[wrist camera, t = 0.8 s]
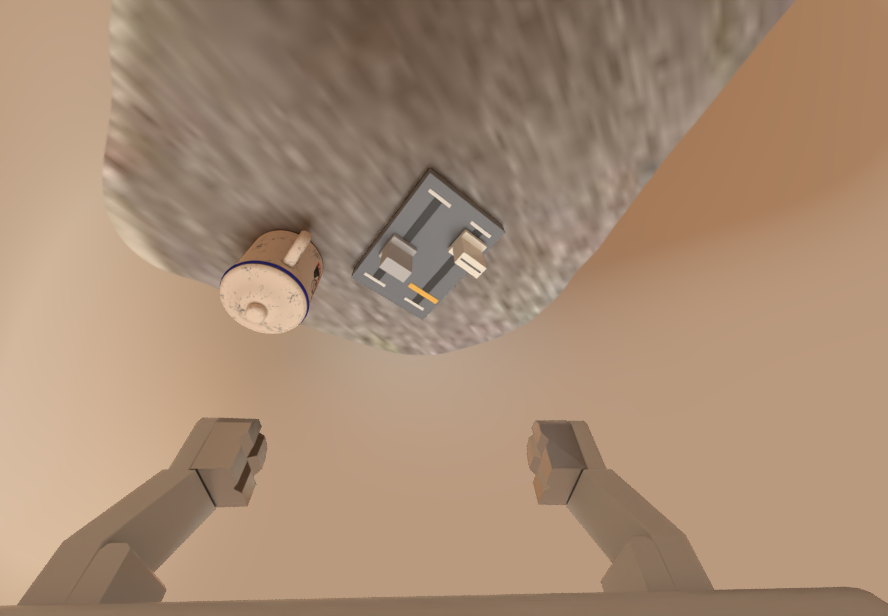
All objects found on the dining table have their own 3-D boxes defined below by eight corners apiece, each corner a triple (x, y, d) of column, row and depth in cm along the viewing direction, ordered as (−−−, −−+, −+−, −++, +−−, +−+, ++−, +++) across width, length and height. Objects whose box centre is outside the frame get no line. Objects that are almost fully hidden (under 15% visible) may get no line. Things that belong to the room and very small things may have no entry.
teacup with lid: (304, 303, 52) (276, 363, 42) (238, 266, 48) (191, 322, 39) (351, 238, 47) (332, 290, 37) (281, 192, 43) (240, 236, 34)
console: (429, 167, 42) (430, 186, 37) (502, 225, 46) (512, 250, 41) (353, 269, 49) (344, 298, 43) (422, 311, 53) (422, 342, 48)
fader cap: (465, 228, 44) (469, 246, 40) (486, 244, 45) (491, 263, 41) (447, 248, 45) (449, 268, 41) (468, 263, 46) (472, 283, 43)
